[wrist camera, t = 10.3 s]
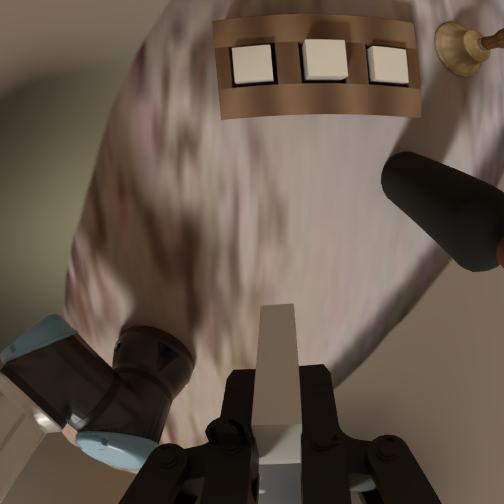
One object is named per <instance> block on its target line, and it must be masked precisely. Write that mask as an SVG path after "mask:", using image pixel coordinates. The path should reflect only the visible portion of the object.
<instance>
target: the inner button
mask: <svg viewBox="0 0 504 504" xmlns="http://www.w3.org/2000/svg"><path fill="white" fill-rule="evenodd" d="M232 55H233V66H234V77H235V83H236V84H238V85H239V86H251V85H264V84H274V80H273V68H272V58H271V48H270V45H259V46H247V47H237V48H232Z"/></svg>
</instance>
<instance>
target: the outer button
mask: <svg viewBox="0 0 504 504" xmlns="http://www.w3.org/2000/svg"><path fill="white" fill-rule="evenodd" d="M366 59H367V69H368V81H369V84H380V85H393V86H394V85H399V84H405V83H409V79H408V67H407V57H406V50H405V49H397V48H389V47H379V46H371V47H370V48H368V49H367V50H366Z"/></svg>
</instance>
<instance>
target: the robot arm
mask: <svg viewBox="0 0 504 504" xmlns="http://www.w3.org/2000/svg"><path fill="white" fill-rule="evenodd" d="M0 358H1V360H2V362H3V363H5V365H4V367H3V368H2V369H1V370H0V503H1V502H2V500H3V499H4V497H5V495H6V494H7V492H8V490H9V489H10V487H11V486H12V484H13V483H14V481H15V480H16V478H17V476H18V475H19V473H20V472H21V470H22V469H23V467H24V465H25V464H26V462H27V461H28V460H29V458H30V456H31V455H32V453H33V452H34V450H35V449H36V448H37V446H38V445H39V443H40V442H41V440H42V439H43V437H44V436H45V434H46V433H49V432H60V431H62V430H63V428H64V427H65V425H66V424H67V423H68V424H69V425H70V426H72V427H73V428H74V429H75V430H76V431H77V432H78V433H77V434H76V436H75V437H76V444H77V445H78V446H79V448H80V449H81V450H82V451H84V452H85V453H86V454H88V455H89V456H91V457H93V458H95V459H97V460H99V461H101V462H104V463H106V464H109V465H112V466H116V467H120V468H125V469H140V471H139V472H138V474H137V475H136V477H135V479H134V480H133V482H132V483H131V485H130V486H129V488H128V490H127V491H126V493H125V494H124V496H123V497H122V499H121V500H120V502H119V504H258V496H259V480H260V477H259V473H258V468H259V463H260V464H285V463H301V504H351V496H350V490H353V491H357V493H358V495H359V497H360V500H361V502H362V504H442V503H441V502H440V500H439V498H438V496H437V495H436V493H435V491H434V489H433V488H432V486H431V484H430V483H429V481H428V480H427V478H426V476H425V474H424V473H423V471H422V469H421V468H420V466H419V464H418V462H417V461H416V459H415V458H414V456H413V454H412V453H411V451H410V449H409V448H408V446H407V444H406V443H405V442H404V441H403V440H402V439H401V438H399V437H397V436H395V435H383V436H379V437H377V438H376V439H374V440H373V441H365V440H357V439H353V438H351V437H349V436H347V435H346V434H345V433H343V432H342V430H341V429H340V427H339V424H338V417H337V411H336V405H335V398H334V393H333V386H332V380H331V374H330V372H329V370H328V369H327V368H326V367H325V365H324V364H319V365H307V366H299V365H298V351H297V338H296V325H295V313H294V304H280V305H264V306H261V309H260V322H259V335H258V348H257V361H256V369H244V370H233V371H232V373H231V374H230V375H229V377H228V378H227V381H226V387H225V393H224V400H223V404H222V410H221V416H220V418H217V419H215V420H213V421H212V422H211V423H210V424H209V425H208V426H207V428H206V430H205V433H206V436H207V438H208V440H209V442H207V443H206V444H204V445H200V446H197V447H192V448H187V449H183V448H182V447H180V446H179V445H177V444H171V443H168V444H162V445H160V446H159V442H160V438H161V435H162V432H163V429H164V426H165V423H166V420H167V417H168V414H169V410H170V407H171V404H172V401H173V400H174V399H175V398H176V396H177V395H178V394H179V393H180V392H181V391H182V389H183V388H184V387H185V386H186V385H187V384H188V382H189V380H190V378H191V375H192V372H193V360H192V357H191V355H190V353H189V352H188V350H187V349H186V347H185V346H184V345H183V344H182V343H181V342H180V341H178V340H177V339H176V338H174V337H173V336H171V335H170V334H168V333H166V332H164V331H161V330H159V329H156V328H152V327H144V326H139V327H133V328H130V329H128V330H126V331H125V332H123V333H122V335H121V336H120V338H119V339H118V341H117V343H116V345H115V348H114V355H113V362H112V367H111V366H109V365H108V364H107V363H106V362H105V361H104V360H103V359H102V358H101V357H100V356H99V355H98V354H97V353H96V352H95V351H94V350H93V349H92V348H91V347H90V346H89V345H88V344H87V343H86V341H85V340H84V339H83V338H82V337H81V336H80V335H79V334H78V331H77V330H74V329H73V328H72V327H71V326H70V325H69V324H68V323H67V322H66V321H65V320H64V319H63V318H62V317H61V316H60V315H57V314H49V315H47V316H46V317H44V318H43V319H42V320H40V321H39V322H38V323H37V324H35V325H34V326H33V327H31V328H30V329H29V330H28V331H26V332H25V333H24V334H23V335H22V336H20V337H19V338H18V339H17V340H16V341H15V342H13V343H12V344H11V345H10V346H9V347H8V348H6V349H5V350H4V351H3V352H2V353H1V354H0Z"/></svg>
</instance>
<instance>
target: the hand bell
mask: <svg viewBox="0 0 504 504" xmlns="http://www.w3.org/2000/svg"><path fill="white" fill-rule="evenodd" d="M434 43H435V48H436V51H437V54H438V56H439V58H440V60H441V62H442V63H443V64H444V65H445V67H446V68H447V69H448V70H450V71H451V72H452V73H454V74H456V75H458V76H461V77H470V76H472V75H474V74H475V73H476V72H477V71H478V70H479V68H480V66H481V62H483V61H486V60H487V59H488V58H489V55H490V49H494V48H498V47H500V48H504V28H503V29H501V30H499V31H498V32H497V33H496V34H495V35H493V36H488V37H484V36H483V35H482V34H481V33H480V32H478V31H476V30H467V29H466V28H464V27H462V26H460V25H458V24H455V23H445V24H443V25H441V26H440V27H439V28H438V29H437V31H436V34H435V39H434Z"/></svg>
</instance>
